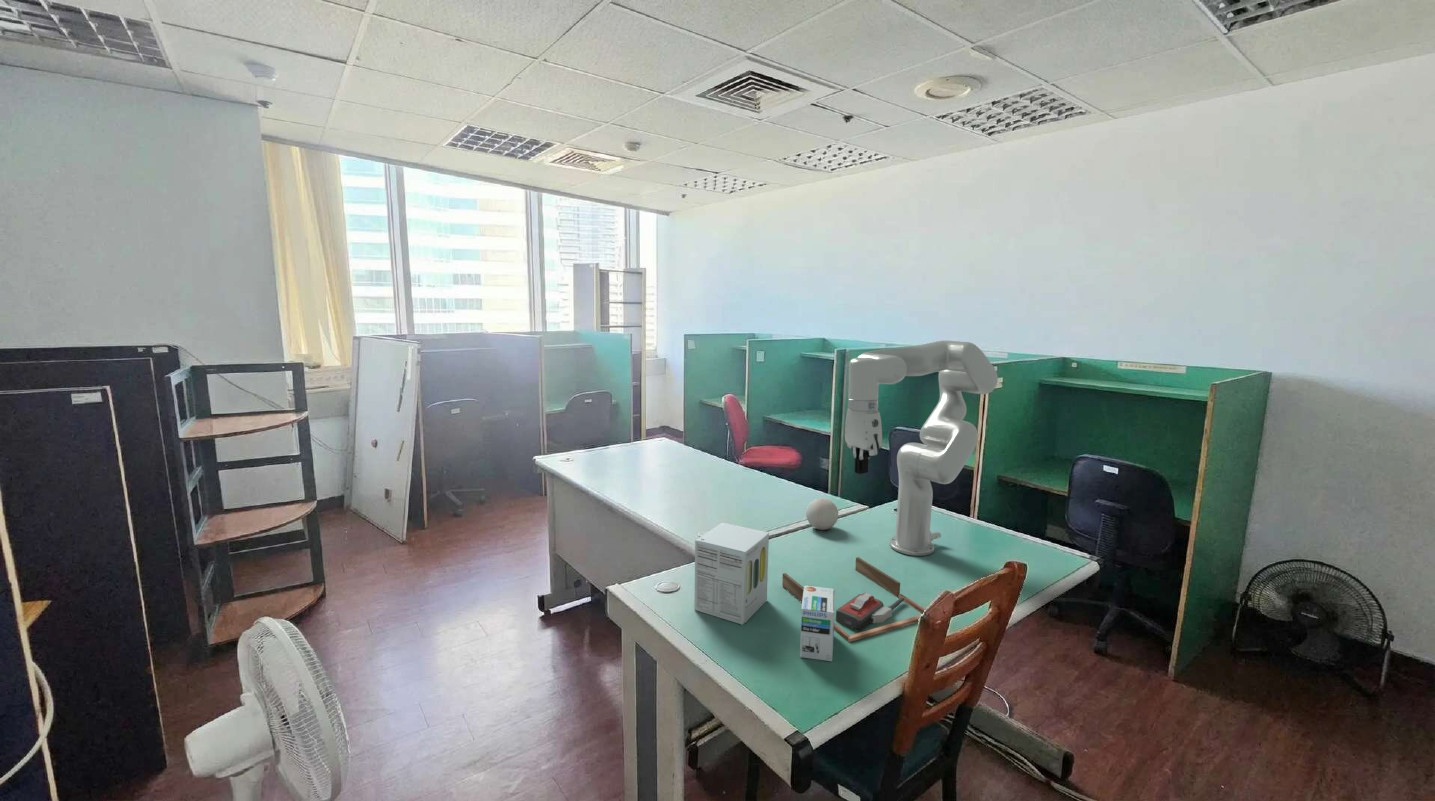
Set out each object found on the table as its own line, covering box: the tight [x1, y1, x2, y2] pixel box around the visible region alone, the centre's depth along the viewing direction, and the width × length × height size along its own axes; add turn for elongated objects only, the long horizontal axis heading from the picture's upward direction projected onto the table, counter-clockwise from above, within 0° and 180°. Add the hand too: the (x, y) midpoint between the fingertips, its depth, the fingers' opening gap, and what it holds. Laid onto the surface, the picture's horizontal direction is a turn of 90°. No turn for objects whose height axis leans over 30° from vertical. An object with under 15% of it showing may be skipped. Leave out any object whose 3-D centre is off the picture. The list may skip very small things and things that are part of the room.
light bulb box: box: [799, 585, 836, 662], centre depth 122 cm, size 11×7×11 cm, turn 168°
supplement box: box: [693, 522, 770, 626], centre depth 137 cm, size 13×13×18 cm
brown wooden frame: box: [781, 556, 927, 643], centre depth 140 cm, size 24×27×4 cm
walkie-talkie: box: [835, 592, 904, 631], centre depth 135 cm, size 9×4×20 cm
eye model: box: [805, 497, 839, 531], centre depth 185 cm, size 10×10×10 cm
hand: (861, 472), depth 155 cm, fingers closed
